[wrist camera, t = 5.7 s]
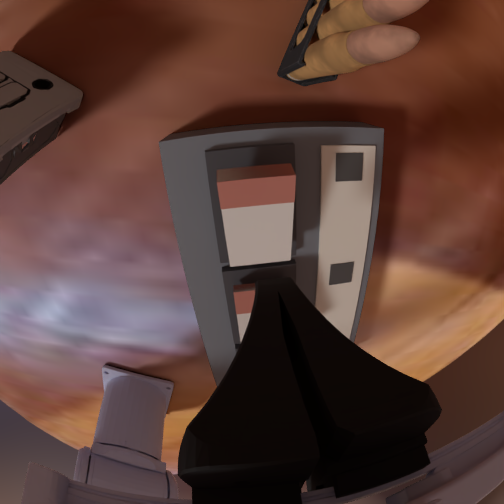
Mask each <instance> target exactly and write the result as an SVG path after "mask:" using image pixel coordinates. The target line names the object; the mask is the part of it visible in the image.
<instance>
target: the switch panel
mask: <svg viewBox="0 0 504 504" xmlns="http://www.w3.org/2000/svg"><path fill="white" fill-rule="evenodd" d="M383 144H384V128H380V127H377V126H374V125H370V124H367V123H363V122H345V121H301V122H275V123H259V124H246V125H235V126H226V127H217V128H209V129H201V130H194V131H187V132H181V133H174V134H169V135H168V136H167V137H165V138H164V139H162V140H161V141H160V142H159V147H160V153H161V159H162V165H163V171H164V176H165V182H166V187H167V193H168V198H169V203H170V208H171V213H172V218H173V223H174V227H175V232H176V237H177V241H178V246H179V250H180V254H181V259H182V263H183V267H184V271H185V275H186V279H187V283H188V287H189V291H190V295H191V299H192V303H193V307H194V310H195V314H196V318H197V321H198V325H199V329H200V332H201V336H202V339H203V343H204V346H205V349H206V353H207V356H208V359H209V363H210V366H211V369H212V372H213V375H214V379H215V382H216V385H217V387H218V385H219V384H220V382H221V381H222V379H223V377H224V376H225V374H226V372H227V370H228V369H229V367H230V365H231V363H232V361H233V359H234V357H235V355H236V353H237V351H238V349H239V346H240V344H241V342H240V335H239V327H238V320H237V314H236V308H235V300H234V293H233V285H242V284H252V283H256V282H257V281H258V280H266V279H276V278H285V277H291V278H292V279H293V280H294V282H295V283H296V284H297V286H298V287H299V288H300V290H301V291H302V292H303V293H304V294H305V296H306V297H307V298H308V299H309V300H310V302H311V303H312V304H313V305H314V306H315V307H316V308H317V309H318V310H319V311H320V313H321V314H322V315H323V316H324V317H325V318H326V319H327V320H328V321H329V322H330V323H331V324H332V325H333V326H335V327H336V328H337V329H338V330H339V331H340V332H341V333H342V334H343V335H345V336H346V337H347V338H348V339H350V340H351V341H352V342H353V343H354V340H355V336H356V332H357V328H358V324H359V320H360V315H361V311H362V306H363V302H364V297H365V292H366V287H367V282H368V276H369V271H370V265H371V259H372V253H373V247H374V240H375V233H376V225H377V217H378V209H379V200H380V189H381V177H382V163H383ZM288 163H291V165H292V167H293V170H294V172H295V174H296V185H295V202H294V214H293V232H292V247H291V260H289V261H280V262H271V263H262V264H253V265H243V266H234V267H230V262H229V256H228V250H227V244H226V237H225V231H224V224H223V217H222V211H221V207H220V201H219V194H218V187H217V170H221V169H230V168H239V167H250V166H261V165H273V164H288Z"/></svg>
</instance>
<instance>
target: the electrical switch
mask: <svg viewBox="0 0 504 504" xmlns="http://www.w3.org/2000/svg"><path fill="white" fill-rule="evenodd" d="M82 96H83V92H82V91H81V90H80V89H78V88H76V87H75V86H73V85H71V84H70V83H68V82H66V81H64V80H63V79H61V78H59V77H57V76H56V75H54V74H52V73H50V72H48V71H47V70H45V69H43V68H41V67H40V66H38V65H36V64H34V63H32V62H30V61H29V60H27V59H25V58H23V57H21V56H19V55H17V54H15V53H14V52H11V51H2V52H0V184H2V183H3V182H4V181H5V180H6V179H7V178H8V177H9V176H10V175H11V174H12V173H13V172H15V171H16V170H17V169H18V168H19V167H20V166H22V165H23V164H24V163H25V162H26V161H27V160H29V159H30V158H31V157H32V156H34V155H35V154H36V153H37V152H39V151H40V150H41V149H42V148H44V147H45V146H46V145H48V144H49V143H50V142H52V141H53V140H54V139H56V137H57V134H58V131H59V127H60V124H61V122H62V121H63V119H64V117H65V114H66V112H67V113H70V112H72V111H74V110H76V109H78V108H79V106H80V103H81V100H82ZM36 133H37V134H36ZM35 135H36V136H35ZM34 136H35V139H34V141H33V137H34ZM25 142H28V144H27V145H26V146H25V147H24V148H23V149H22V145H23V144H24V143H25Z"/></svg>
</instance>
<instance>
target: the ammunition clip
mask: <svg viewBox="0 0 504 504" xmlns="http://www.w3.org/2000/svg"><path fill="white" fill-rule="evenodd" d="M428 1H429V0H308V3H307V5H306V7H305V9H304V12H303V14H302V16H301V18H300V21H299V23H298V25H297V27H296V30H295V32H294V34H293V37H292V39H291V41H290V44H289V46H288V48H287V51H286V53H285V55H284V58H283V60H282V63H281V65H280V68H279V70H278V72H277V74H278V76H279V77H282V78H285V79H287V80H290V81H292V82H295V83H297V84H299V85H302V86H308V85H312V84H317V83H321V82H327V81H333V80H336V79H337V76H338V74H343V73H350V72H354V71H356V70H359V69H360V68H362V67H364V66H368V65H371V64H374V63H381V62H385V61H388V60H391V59H394V58H397V57H399V56H401V55H403V54H405V53H407V52H408V51H410V50H412V49H413V48H414V47H415V46H416V45H417V43H418V42H419V40H420V35H419V34H418V33H417V32H416V31H414V30H412V29H410V28H407V27H404V26H397V25H387V24H389V23H391V22H393V21H396V20H399V19H402V18H404V17H406V16H408V15H410V14H412V13H414V12H416V11H417V10H419V9H420V8H421V7H423V6H424V5H425V4H426V3H427V2H428Z"/></svg>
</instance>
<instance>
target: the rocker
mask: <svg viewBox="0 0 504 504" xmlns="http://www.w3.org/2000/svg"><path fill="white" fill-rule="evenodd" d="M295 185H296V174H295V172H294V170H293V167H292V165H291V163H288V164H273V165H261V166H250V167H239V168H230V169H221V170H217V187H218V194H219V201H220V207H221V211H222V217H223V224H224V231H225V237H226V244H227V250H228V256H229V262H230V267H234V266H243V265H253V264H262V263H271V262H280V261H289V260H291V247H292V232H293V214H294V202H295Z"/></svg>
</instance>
